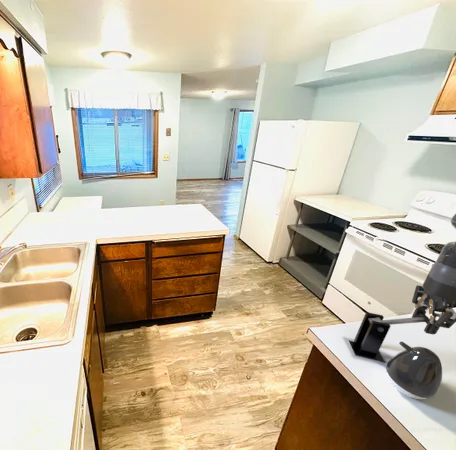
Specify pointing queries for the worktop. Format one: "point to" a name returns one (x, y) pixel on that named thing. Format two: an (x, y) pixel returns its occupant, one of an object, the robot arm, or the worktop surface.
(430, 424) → the worktop surface
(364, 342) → the bracket
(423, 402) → the worktop surface
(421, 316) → the lever
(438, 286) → the robot arm
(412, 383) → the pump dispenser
